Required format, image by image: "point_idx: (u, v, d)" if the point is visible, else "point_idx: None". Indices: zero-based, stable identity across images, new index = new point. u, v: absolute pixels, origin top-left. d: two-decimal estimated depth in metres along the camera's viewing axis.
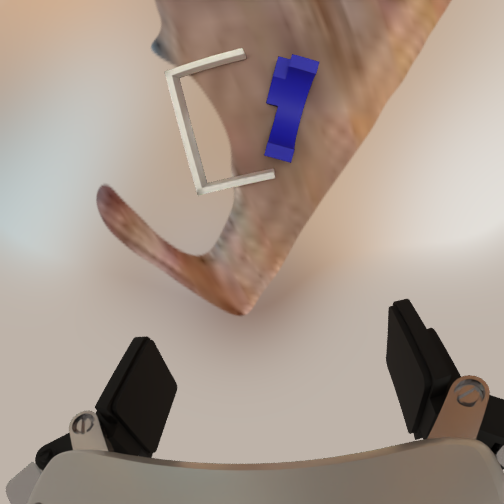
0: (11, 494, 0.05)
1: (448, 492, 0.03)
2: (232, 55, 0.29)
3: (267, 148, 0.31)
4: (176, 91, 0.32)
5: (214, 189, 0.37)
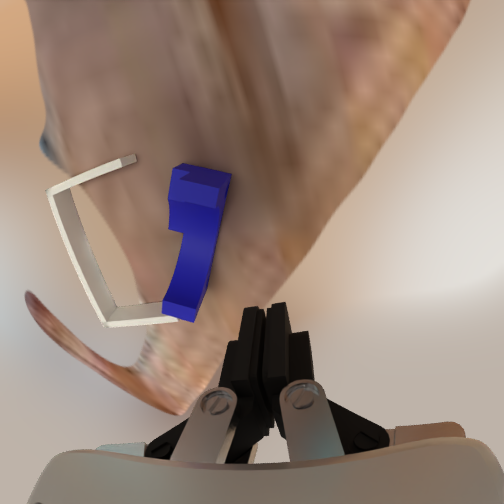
0: None
1: (448, 492, 0.03)
2: (109, 169, 0.23)
3: (163, 306, 0.25)
4: (60, 215, 0.26)
5: (118, 324, 0.30)
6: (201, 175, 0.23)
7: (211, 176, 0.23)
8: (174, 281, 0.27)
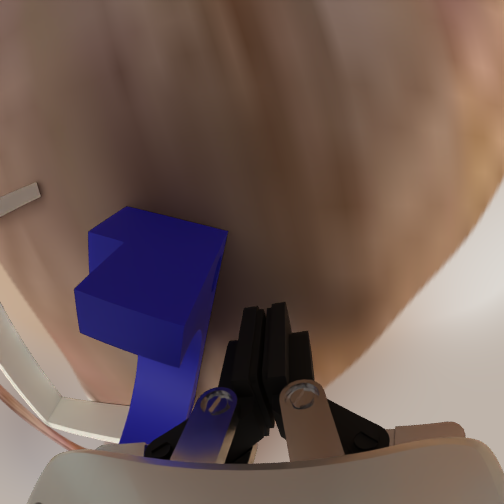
0: None
1: (448, 492, 0.03)
2: None
3: None
4: None
5: (62, 429, 0.17)
6: (148, 254, 0.09)
7: (174, 254, 0.09)
8: (131, 420, 0.13)
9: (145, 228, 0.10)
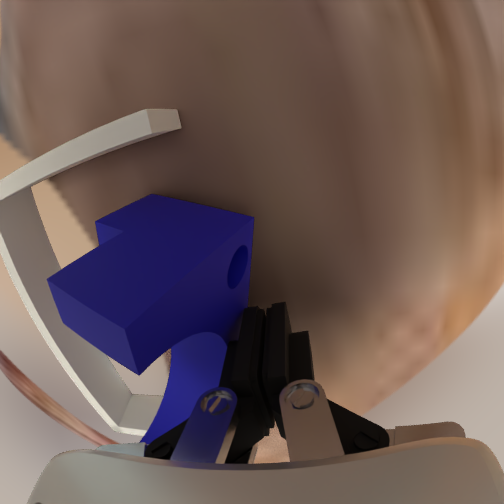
0: None
1: (448, 492, 0.03)
2: (114, 141, 0.08)
3: None
4: (9, 248, 0.11)
5: (140, 433, 0.16)
6: (139, 245, 0.08)
7: (170, 244, 0.08)
8: (160, 417, 0.13)
9: (156, 216, 0.10)
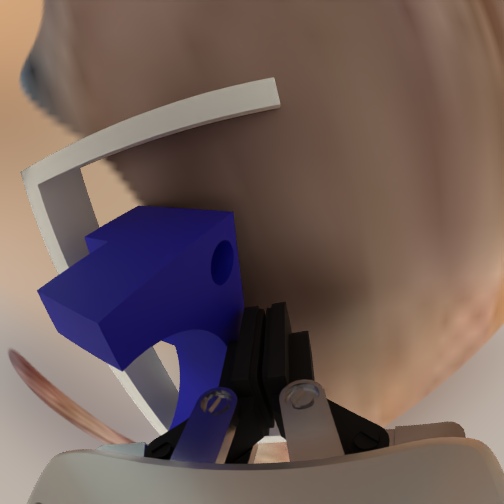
0: None
1: (448, 492, 0.03)
2: (231, 109, 0.08)
3: None
4: (58, 237, 0.10)
5: None
6: (120, 250, 0.08)
7: (149, 246, 0.08)
8: (176, 425, 0.13)
9: (139, 224, 0.10)
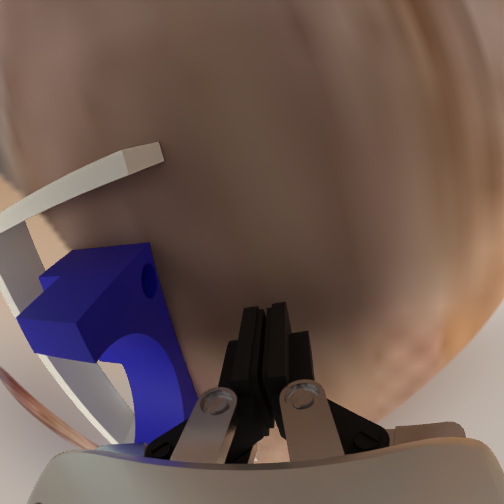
0: None
1: (448, 492, 0.03)
2: (94, 183, 0.08)
3: None
4: (6, 282, 0.11)
5: None
6: (73, 280, 0.10)
7: (94, 273, 0.10)
8: (139, 437, 0.13)
9: (80, 261, 0.11)
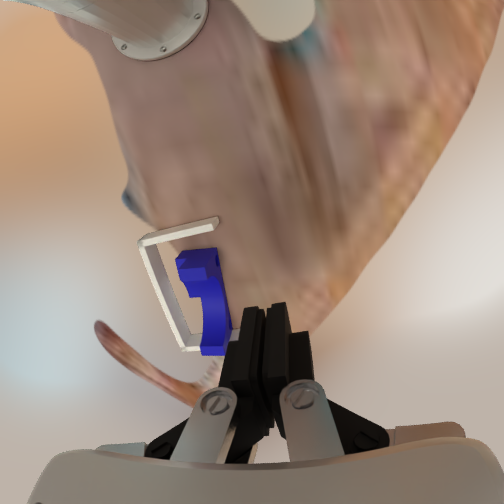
0: None
1: (448, 492, 0.03)
2: (202, 231, 0.33)
3: (201, 350, 0.36)
4: (150, 263, 0.35)
5: (196, 349, 0.39)
6: (194, 259, 0.34)
7: (201, 256, 0.34)
8: (204, 331, 0.37)
9: (191, 253, 0.36)
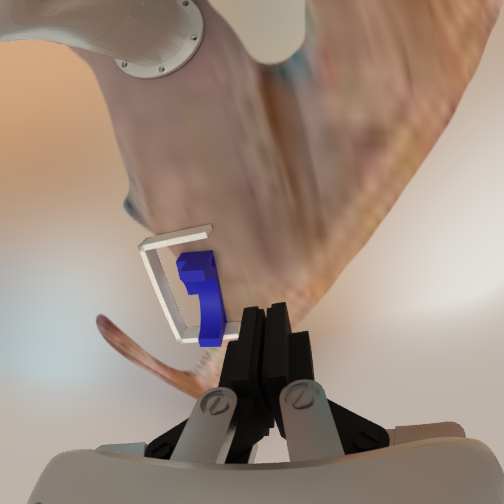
0: None
1: (448, 492, 0.03)
2: (197, 238, 0.37)
3: (199, 342, 0.40)
4: (150, 265, 0.39)
5: (191, 341, 0.44)
6: (193, 261, 0.38)
7: (199, 259, 0.39)
8: (202, 325, 0.42)
9: (190, 256, 0.40)
